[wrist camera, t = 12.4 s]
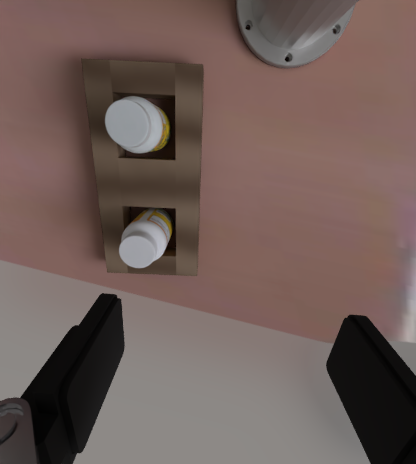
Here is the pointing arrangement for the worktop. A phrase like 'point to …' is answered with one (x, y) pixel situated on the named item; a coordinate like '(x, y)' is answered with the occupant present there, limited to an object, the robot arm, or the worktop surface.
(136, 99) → the supplement bottle
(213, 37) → the worktop surface
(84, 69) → the bottle rack
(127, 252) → the supplement bottle
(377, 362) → the robot arm
